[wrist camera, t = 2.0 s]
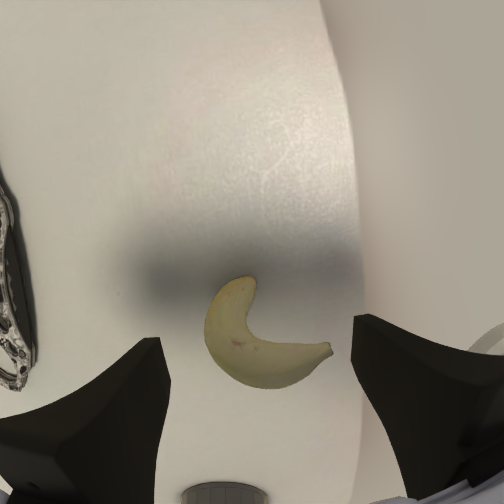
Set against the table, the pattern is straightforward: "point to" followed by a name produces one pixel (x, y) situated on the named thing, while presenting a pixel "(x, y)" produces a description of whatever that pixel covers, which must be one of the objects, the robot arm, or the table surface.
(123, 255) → the table surface
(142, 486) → the robot arm
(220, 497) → the holder
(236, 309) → the fruit
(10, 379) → the knife
